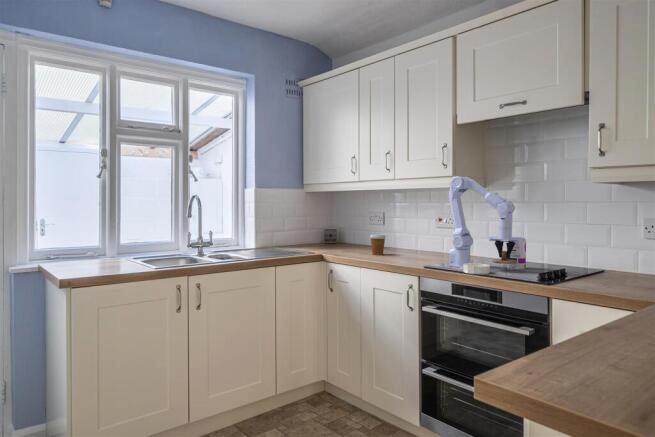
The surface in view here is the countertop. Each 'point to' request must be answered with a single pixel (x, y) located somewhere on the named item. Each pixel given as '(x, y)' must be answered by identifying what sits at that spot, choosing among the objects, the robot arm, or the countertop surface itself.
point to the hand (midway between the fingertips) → (504, 257)
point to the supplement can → (518, 255)
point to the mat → (503, 270)
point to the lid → (504, 259)
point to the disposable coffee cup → (377, 243)
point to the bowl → (476, 268)
